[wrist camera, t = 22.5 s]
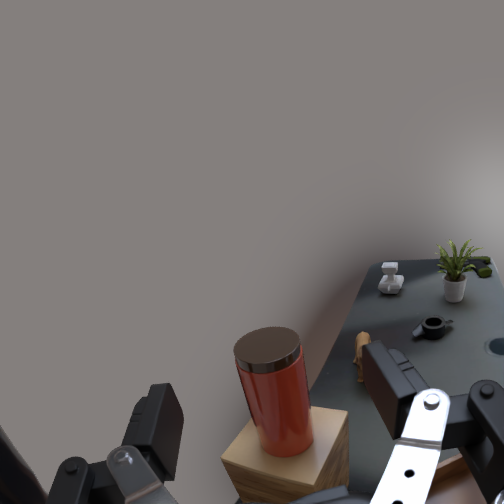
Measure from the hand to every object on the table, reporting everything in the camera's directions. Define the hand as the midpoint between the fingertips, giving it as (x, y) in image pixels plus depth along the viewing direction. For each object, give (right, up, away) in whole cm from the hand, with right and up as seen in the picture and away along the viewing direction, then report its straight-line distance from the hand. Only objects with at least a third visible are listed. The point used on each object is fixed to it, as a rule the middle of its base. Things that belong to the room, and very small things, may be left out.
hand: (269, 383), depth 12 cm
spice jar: (+3, -13, +16) cm, 21 cm away
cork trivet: (+3, -14, +17) cm, 22 cm away
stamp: (+40, -6, +76) cm, 86 cm away
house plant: (+55, -7, +62) cm, 83 cm away
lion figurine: (+22, -18, +47) cm, 55 cm away
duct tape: (+40, -13, +51) cm, 67 cm away
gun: (+68, 0, +76) cm, 102 cm away
